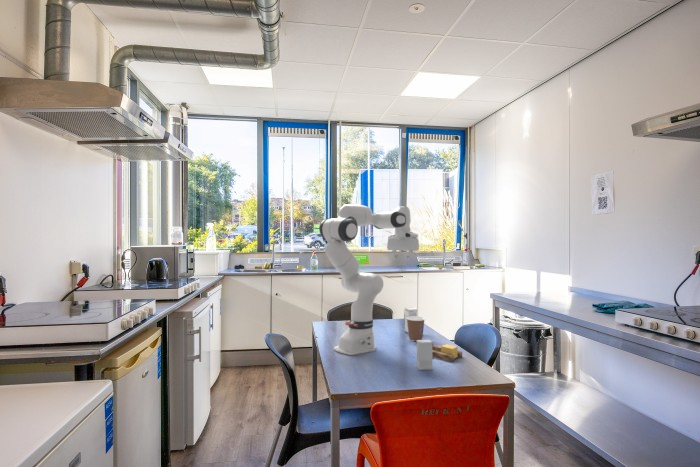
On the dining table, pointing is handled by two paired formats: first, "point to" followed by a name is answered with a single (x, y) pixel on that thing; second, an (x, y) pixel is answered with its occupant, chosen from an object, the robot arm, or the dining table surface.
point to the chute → (443, 354)
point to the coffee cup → (415, 327)
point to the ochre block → (450, 350)
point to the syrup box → (408, 313)
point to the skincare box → (424, 354)
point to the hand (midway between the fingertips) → (402, 258)
